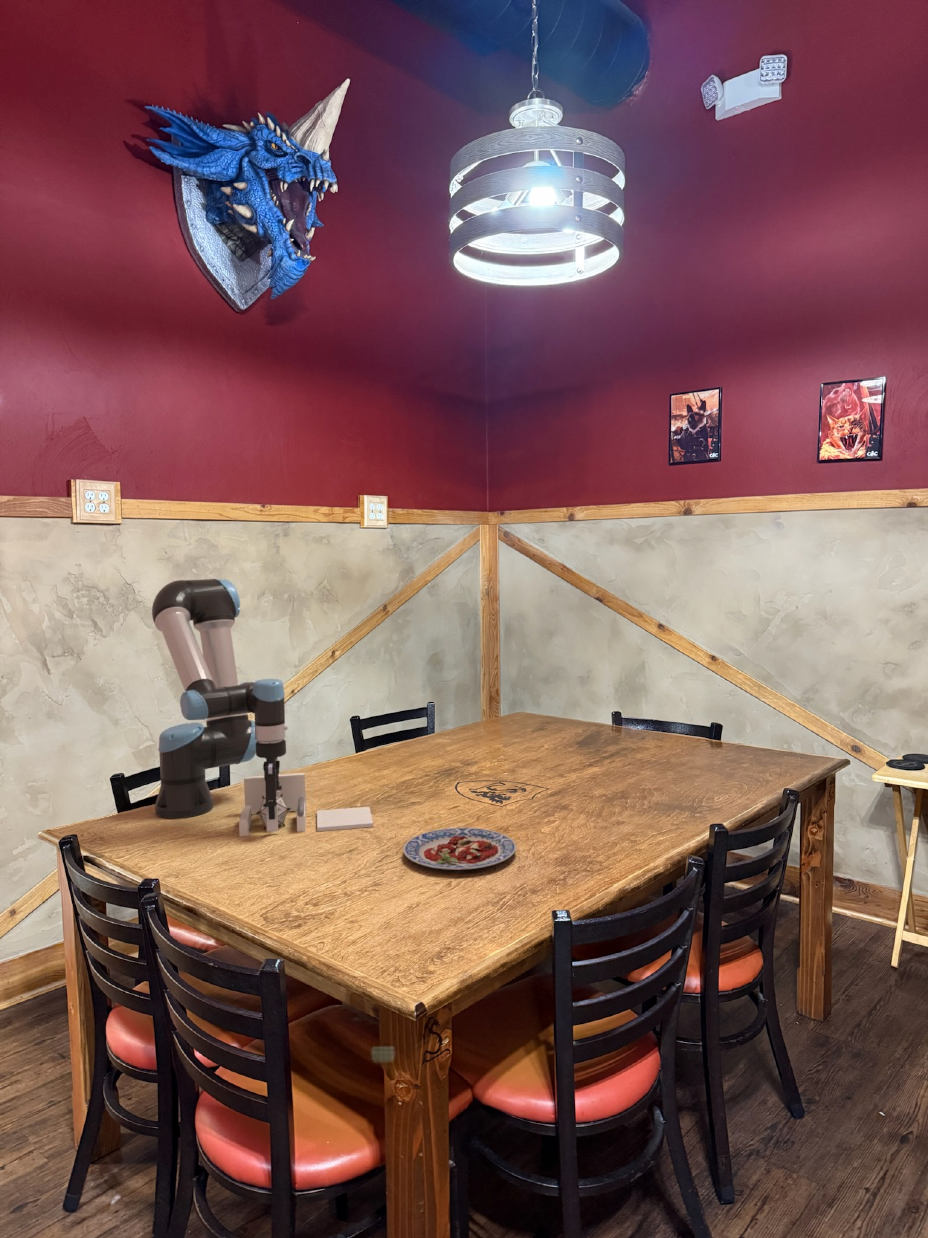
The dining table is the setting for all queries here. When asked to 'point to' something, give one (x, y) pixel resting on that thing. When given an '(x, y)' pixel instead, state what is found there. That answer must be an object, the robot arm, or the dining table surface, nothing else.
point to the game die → (280, 807)
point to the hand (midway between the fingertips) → (273, 823)
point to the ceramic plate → (459, 848)
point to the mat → (344, 819)
